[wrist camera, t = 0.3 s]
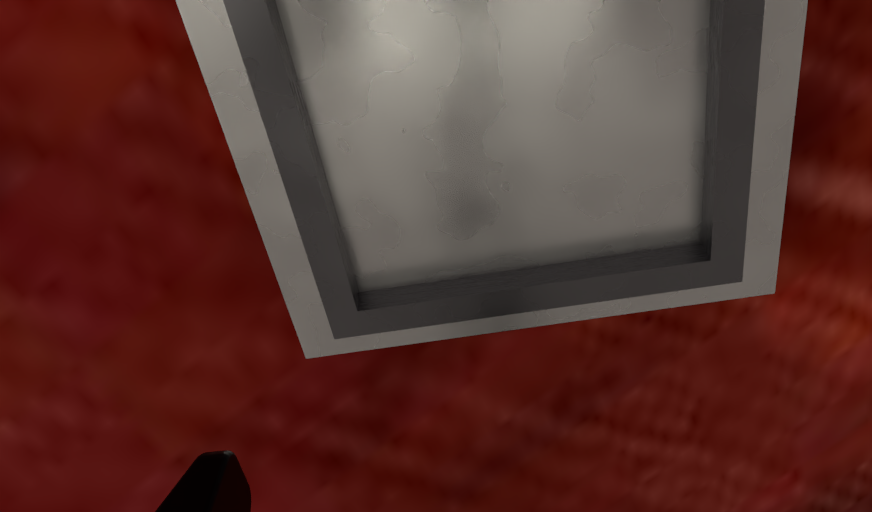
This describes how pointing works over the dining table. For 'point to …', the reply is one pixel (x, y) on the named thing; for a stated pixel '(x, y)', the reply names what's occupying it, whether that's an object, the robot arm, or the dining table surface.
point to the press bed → (504, 156)
